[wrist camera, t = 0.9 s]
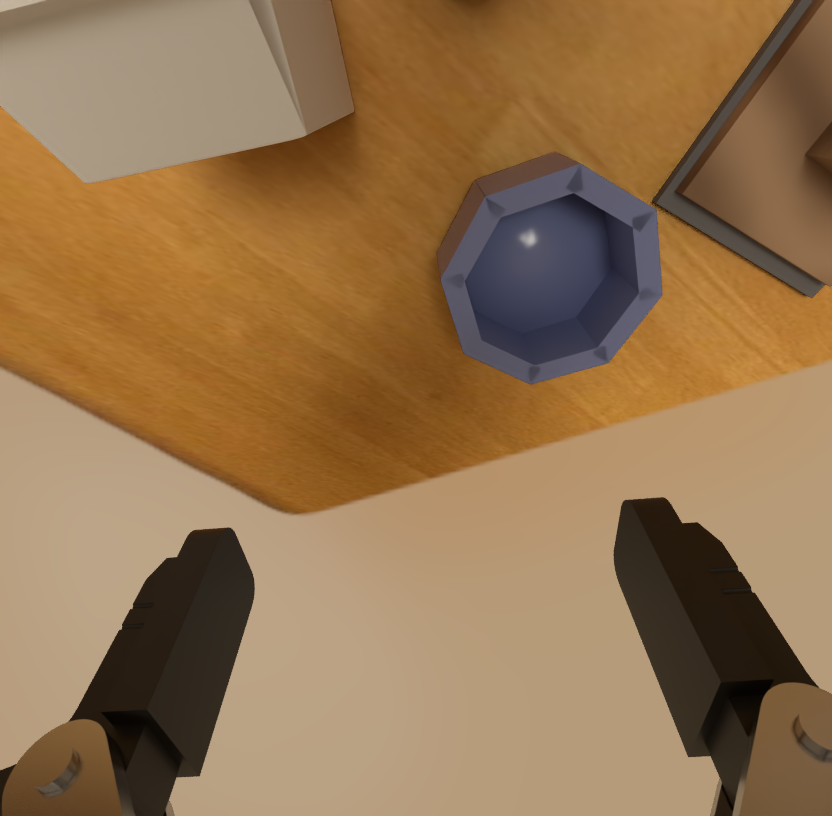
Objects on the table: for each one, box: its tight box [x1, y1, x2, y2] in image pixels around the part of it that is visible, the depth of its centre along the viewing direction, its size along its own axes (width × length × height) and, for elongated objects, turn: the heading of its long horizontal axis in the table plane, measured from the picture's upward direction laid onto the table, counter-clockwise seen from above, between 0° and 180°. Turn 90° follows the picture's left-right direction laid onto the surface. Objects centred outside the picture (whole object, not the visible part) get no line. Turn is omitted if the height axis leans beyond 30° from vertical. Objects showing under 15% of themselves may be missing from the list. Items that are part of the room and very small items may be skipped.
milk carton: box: [0, 0, 354, 183], centre depth 18 cm, size 7×7×19 cm
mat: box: [653, 0, 825, 298], centre depth 28 cm, size 14×13×1 cm
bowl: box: [437, 152, 662, 384], centre depth 29 cm, size 11×11×6 cm
